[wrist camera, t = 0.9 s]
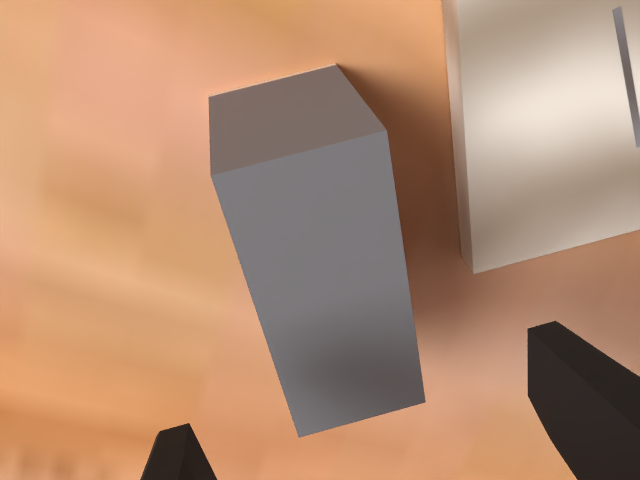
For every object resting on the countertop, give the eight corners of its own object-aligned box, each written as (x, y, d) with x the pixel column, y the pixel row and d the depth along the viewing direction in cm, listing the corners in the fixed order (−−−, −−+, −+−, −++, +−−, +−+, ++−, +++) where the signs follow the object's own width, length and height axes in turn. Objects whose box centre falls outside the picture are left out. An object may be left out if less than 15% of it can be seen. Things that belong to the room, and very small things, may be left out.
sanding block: (375, 288, 23) (425, 402, 18) (277, 314, 22) (298, 437, 17) (334, 62, 18) (386, 130, 13) (208, 93, 18) (211, 175, 13)
